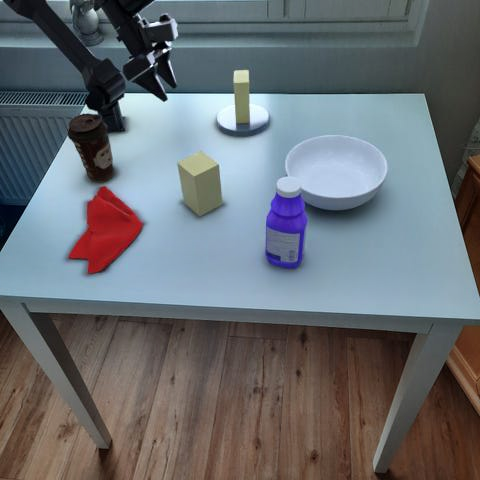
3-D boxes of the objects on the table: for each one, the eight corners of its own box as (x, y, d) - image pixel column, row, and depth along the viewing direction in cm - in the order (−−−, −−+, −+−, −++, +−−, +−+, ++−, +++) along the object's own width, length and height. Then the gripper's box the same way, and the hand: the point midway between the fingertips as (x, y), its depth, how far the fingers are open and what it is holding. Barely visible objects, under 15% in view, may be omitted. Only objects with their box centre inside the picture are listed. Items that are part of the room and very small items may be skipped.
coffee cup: (125, 164, 111) (110, 111, 100) (116, 186, 106) (100, 133, 95) (89, 163, 111) (71, 110, 101) (78, 185, 106) (58, 132, 96)
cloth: (130, 274, 89) (127, 266, 87) (60, 273, 90) (55, 265, 88) (153, 187, 105) (151, 179, 103) (93, 187, 106) (90, 179, 104)
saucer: (214, 111, 123) (214, 106, 122) (264, 106, 123) (264, 100, 122) (220, 139, 115) (220, 133, 114) (272, 133, 116) (273, 127, 114)
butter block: (183, 202, 101) (176, 162, 93) (206, 191, 103) (201, 150, 95) (199, 216, 98) (193, 176, 90) (222, 204, 100) (219, 164, 92)
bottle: (306, 252, 91) (314, 176, 77) (299, 273, 87) (305, 198, 74) (270, 245, 92) (271, 169, 78) (262, 265, 89) (261, 190, 75)
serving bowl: (263, 195, 101) (263, 168, 96) (322, 151, 110) (325, 124, 105) (343, 238, 92) (348, 211, 87) (400, 187, 101) (408, 159, 96)
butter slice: (235, 123, 116) (233, 82, 108) (236, 110, 120) (234, 70, 112) (249, 122, 116) (248, 82, 108) (249, 110, 120) (248, 69, 112)
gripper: (145, 7, 86) (192, 88, 94) (168, -9, 99) (208, 63, 108) (100, 41, 90) (149, 115, 99) (128, 21, 104) (169, 88, 112)
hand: (171, 94), depth 104 cm, fingers open, 9 cm apart
